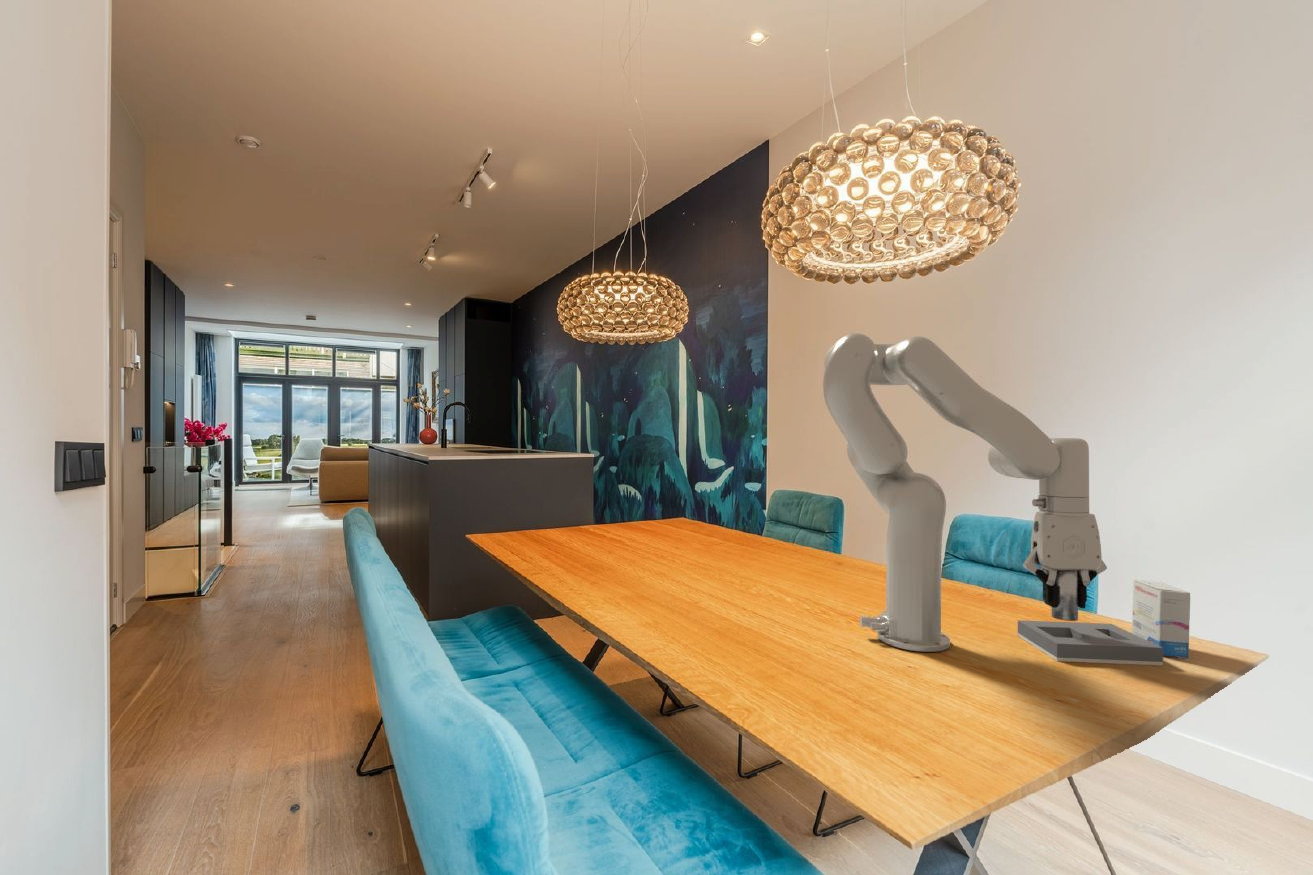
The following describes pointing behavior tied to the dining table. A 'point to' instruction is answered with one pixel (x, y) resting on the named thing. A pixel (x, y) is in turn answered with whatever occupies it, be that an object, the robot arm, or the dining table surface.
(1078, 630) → the socket board
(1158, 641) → the ink box
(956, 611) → the dining table surface
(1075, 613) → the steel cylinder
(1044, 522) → the robot arm
